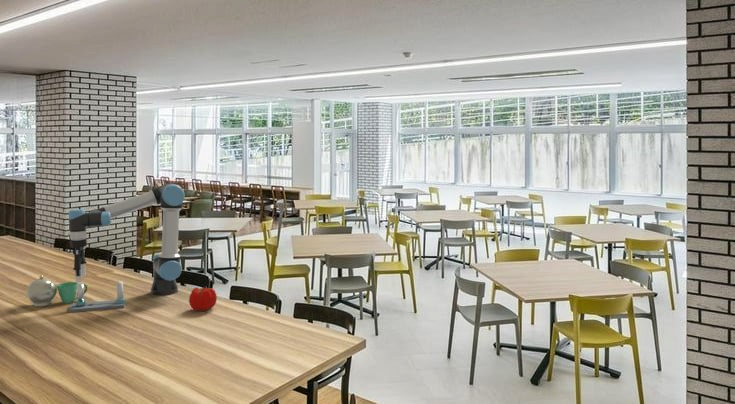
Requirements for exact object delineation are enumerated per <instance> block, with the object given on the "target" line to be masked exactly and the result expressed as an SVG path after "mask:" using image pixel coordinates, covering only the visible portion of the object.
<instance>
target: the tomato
mask: <svg viewBox="0 0 735 404" xmlns="http://www.w3.org/2000/svg"><path fill="white" fill-rule="evenodd" d="M217 299H218V297H217V293H216V291H215V289H213V288H211V287H209V288H207V287H195V288H193V289H192V291H191V293H190V296H189V298H188V303H189V305H190V307H191V309H193V310H195V311H197V312H199V311H201V312H206V311H208V310H211V309H213V308H214V306H216V303H217Z"/></svg>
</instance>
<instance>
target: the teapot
mask: <svg viewBox="0 0 735 404" xmlns="http://www.w3.org/2000/svg"><path fill="white" fill-rule="evenodd" d="M57 293H58V288H57V285H56V283H55V282H54V281H53V280H51V279H50V278H45V276H44V275H43V274H41V275H40V276H39V277H38V278H37V279H35V280H33V281H32V282H31V283H30V284H29V285H28V287H27V290H26V294H27V298H28V299H29V300H30V301H31V302H32V306H33V307H35V308H46V307H49V306H51V305H53V300H54V299H55V297H56V295H57Z"/></svg>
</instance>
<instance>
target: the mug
mask: <svg viewBox="0 0 735 404" xmlns="http://www.w3.org/2000/svg"><path fill="white" fill-rule="evenodd" d="M78 284H79V282H76V281H71V282H69V281H68V282H61V283H59V284H57V285H56V287H57V292H58V295H59V298H60V300H61V302H62V303H63V304H72V303H74V301H75V302H76V301H78V299H77V296H76V295H77V285H78ZM81 284H83V285H84V287H85V288H84V295H85V294H86V293H87V291H88V284H86V283H85V282H83V283H82V282H81Z"/></svg>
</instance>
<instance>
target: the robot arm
mask: <svg viewBox="0 0 735 404" xmlns="http://www.w3.org/2000/svg"><path fill="white" fill-rule="evenodd" d="M185 198H186V195H185V191H184V189H183V188H182V187H181V186H180V185H179V184H174V183H170V182H169V183H164V184H161V185H160V186H157V187H154V188H152V189H149V191H148V192H145V193H141V194H139V195H135V196H132V197H130V198H127V199H123V200H121V201H118V202H115V203H112V204H109V205H105V206H103V207H99V208H94V209H92V210H90V211H89V212H86V211H85V209H83V208H80V209H79V208H76V209H75V208H74V209H71V210H69V211H68V225H69V233H68V236H69V237H70V241H69V243H70V244H69V245H70V248H75V250H74V251H73V253H74V258H73V259H74V260H73V261H74V262H73V263H74V266H73V269H72V270H73V271H74V273H75V276H74V277H75V282H76V283H82V282H83V280H82V279H83V277H86V275H87V274H86V264H87V261H86V257H85V247H87V246H88V239H87V228H95V227H106V226H107V227H108V226H111V223H112V219H115V218H118V217H121V216H123V215H126V214H129V213H132V212H135V211H137V210H142V209H144V208H147V207H149V206H158V205H159V206H160V209H161V210H162V228H161V229H162V231H161V233H162V234H161V252H160V253H156V254H154V255H152V256H153V258H152V268H153V281H152V284H151V287H150V294H151V295H154V296H167V295H172V294H176V293H178V292H179V287H178V284H177V281H176V279H177V278H179V277H180V276H181V274H182V269H183V268H182V265H181V254H179V252H178V251H179V231H180V230H179V229H180V227H179V223H180V212H181V210H183V202H184V200H185Z"/></svg>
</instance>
